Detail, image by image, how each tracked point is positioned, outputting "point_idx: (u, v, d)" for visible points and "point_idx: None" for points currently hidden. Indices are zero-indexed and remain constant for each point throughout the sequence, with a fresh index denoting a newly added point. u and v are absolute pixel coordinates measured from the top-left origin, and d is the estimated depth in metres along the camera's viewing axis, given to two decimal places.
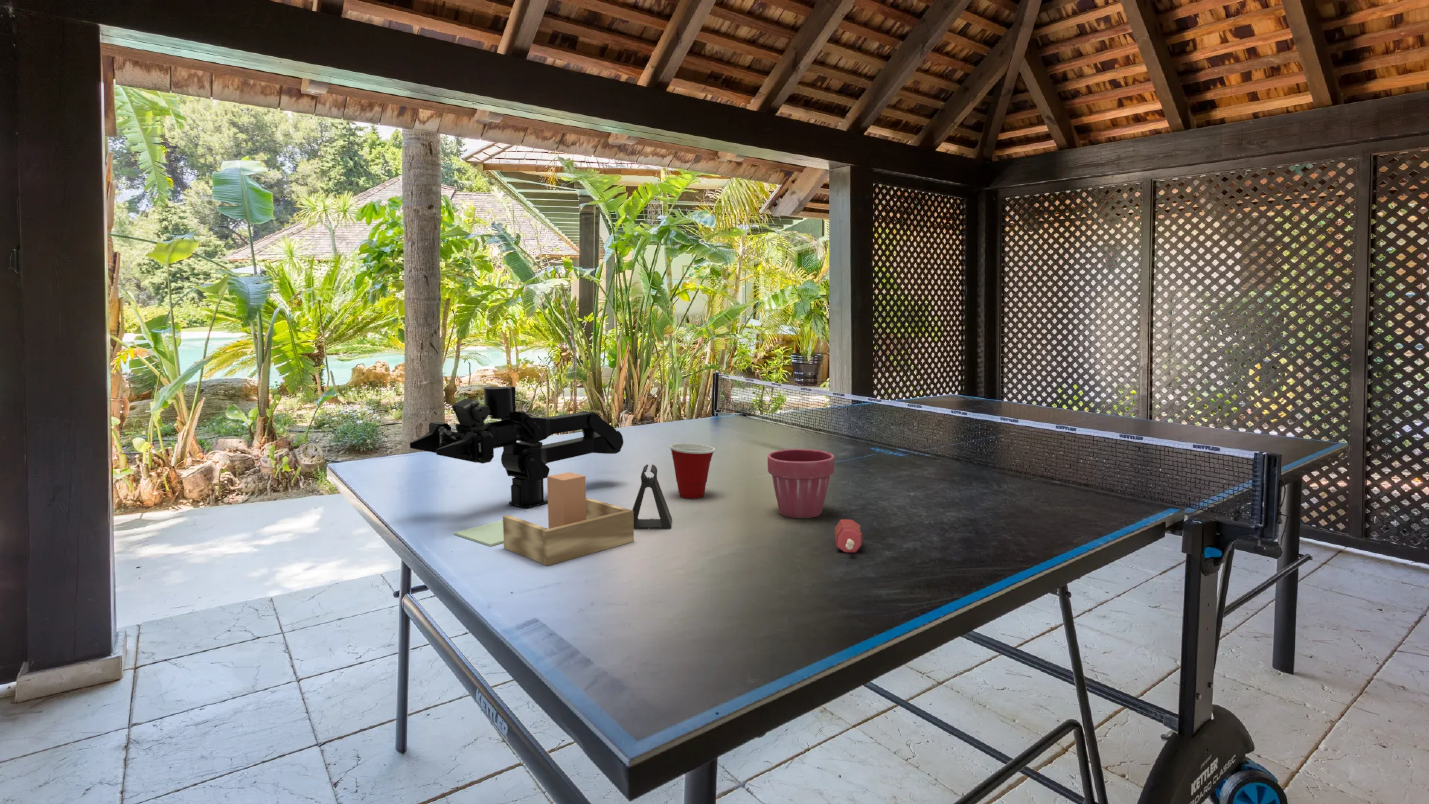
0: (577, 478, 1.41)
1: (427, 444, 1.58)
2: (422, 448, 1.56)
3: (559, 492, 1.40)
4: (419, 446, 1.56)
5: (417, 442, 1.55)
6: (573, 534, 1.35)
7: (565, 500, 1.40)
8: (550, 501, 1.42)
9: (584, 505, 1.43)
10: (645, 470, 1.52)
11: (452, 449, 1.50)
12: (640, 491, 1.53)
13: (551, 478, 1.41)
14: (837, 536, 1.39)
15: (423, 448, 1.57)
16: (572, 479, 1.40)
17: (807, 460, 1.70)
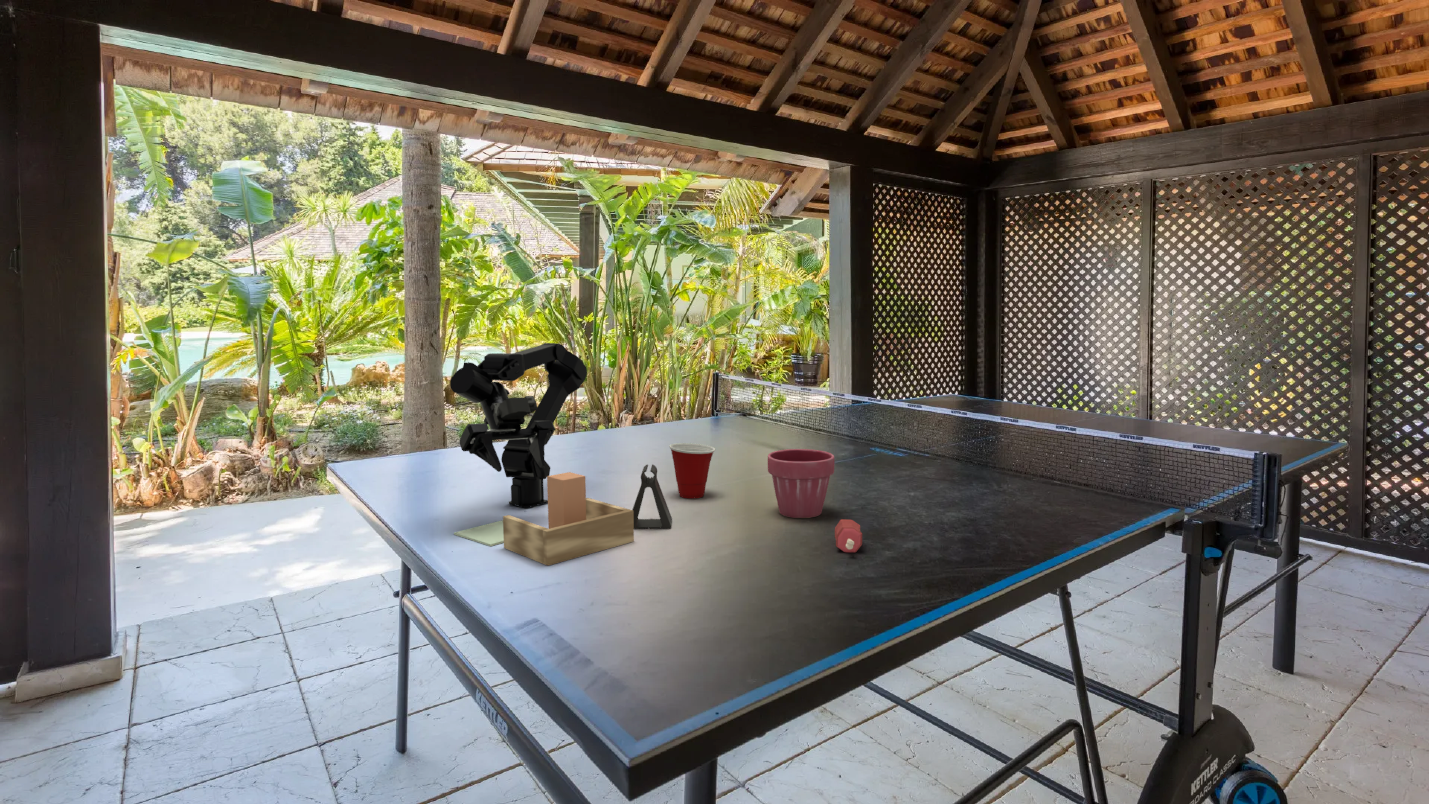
0: (577, 478, 1.41)
1: None
2: None
3: (559, 492, 1.40)
4: None
5: None
6: (573, 534, 1.35)
7: (565, 500, 1.40)
8: (550, 501, 1.42)
9: (584, 505, 1.43)
10: (645, 470, 1.52)
11: None
12: (640, 491, 1.53)
13: (551, 478, 1.41)
14: (837, 536, 1.39)
15: None
16: (572, 479, 1.40)
17: (807, 460, 1.70)
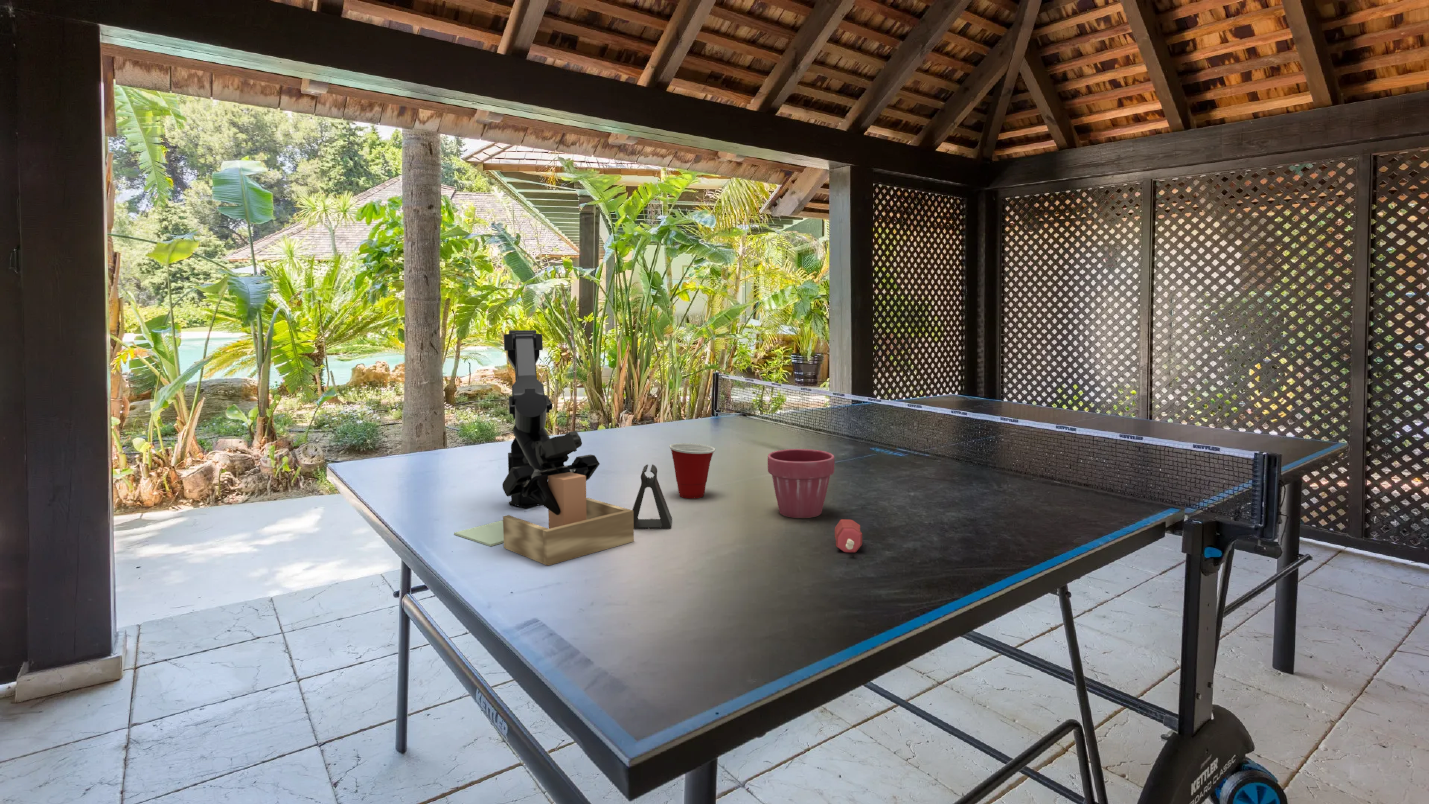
0: (578, 478, 1.41)
1: None
2: None
3: (559, 491, 1.40)
4: None
5: None
6: (573, 534, 1.35)
7: (565, 500, 1.40)
8: None
9: (584, 505, 1.43)
10: (645, 470, 1.52)
11: None
12: (640, 491, 1.53)
13: (552, 478, 1.41)
14: (837, 536, 1.39)
15: None
16: (573, 479, 1.40)
17: (807, 460, 1.70)
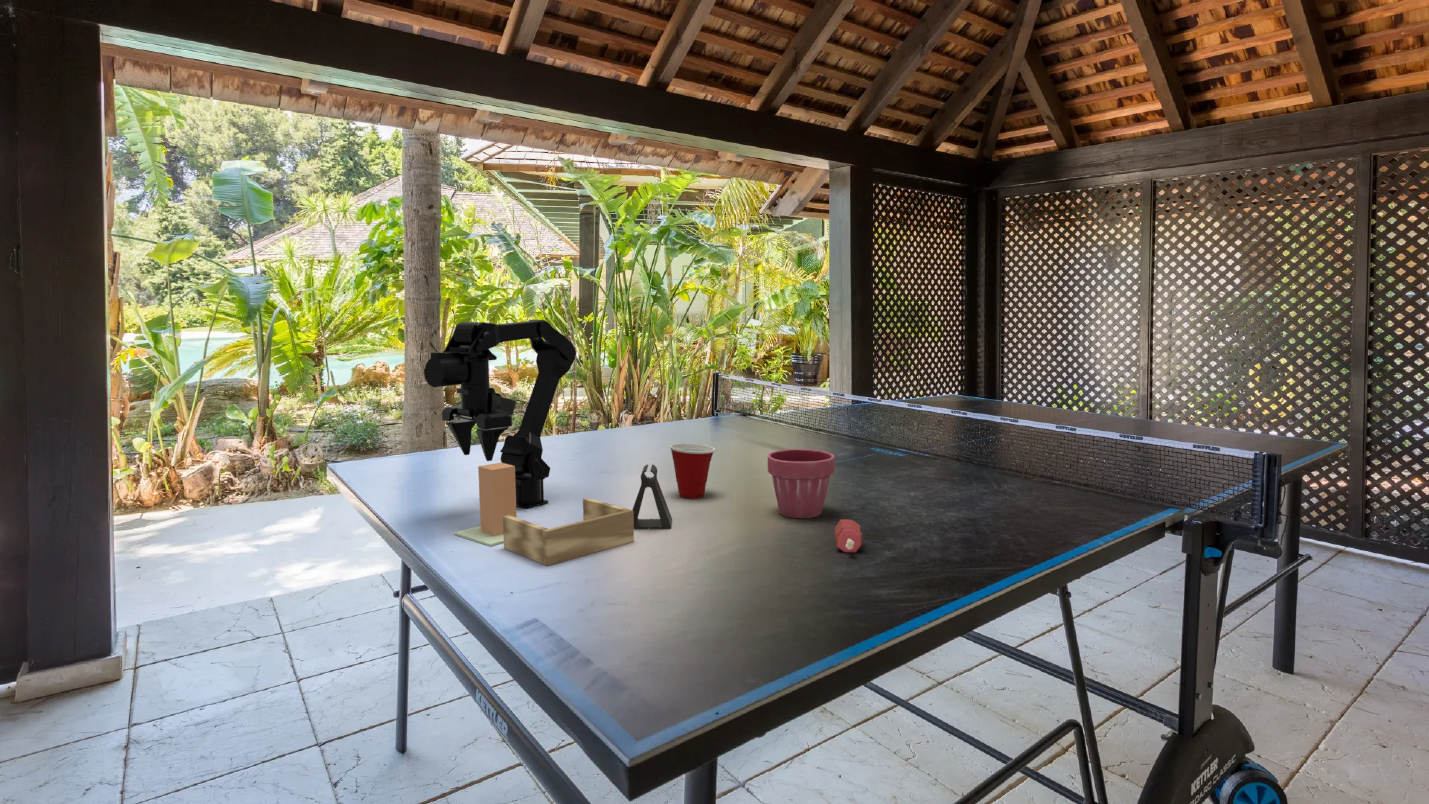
0: (506, 468, 1.48)
1: None
2: None
3: (488, 481, 1.47)
4: None
5: None
6: (573, 534, 1.35)
7: (494, 489, 1.46)
8: (481, 490, 1.49)
9: (513, 494, 1.50)
10: (645, 470, 1.52)
11: None
12: (640, 491, 1.53)
13: (482, 468, 1.48)
14: (837, 536, 1.39)
15: None
16: (501, 469, 1.47)
17: (807, 460, 1.70)
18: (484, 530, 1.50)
